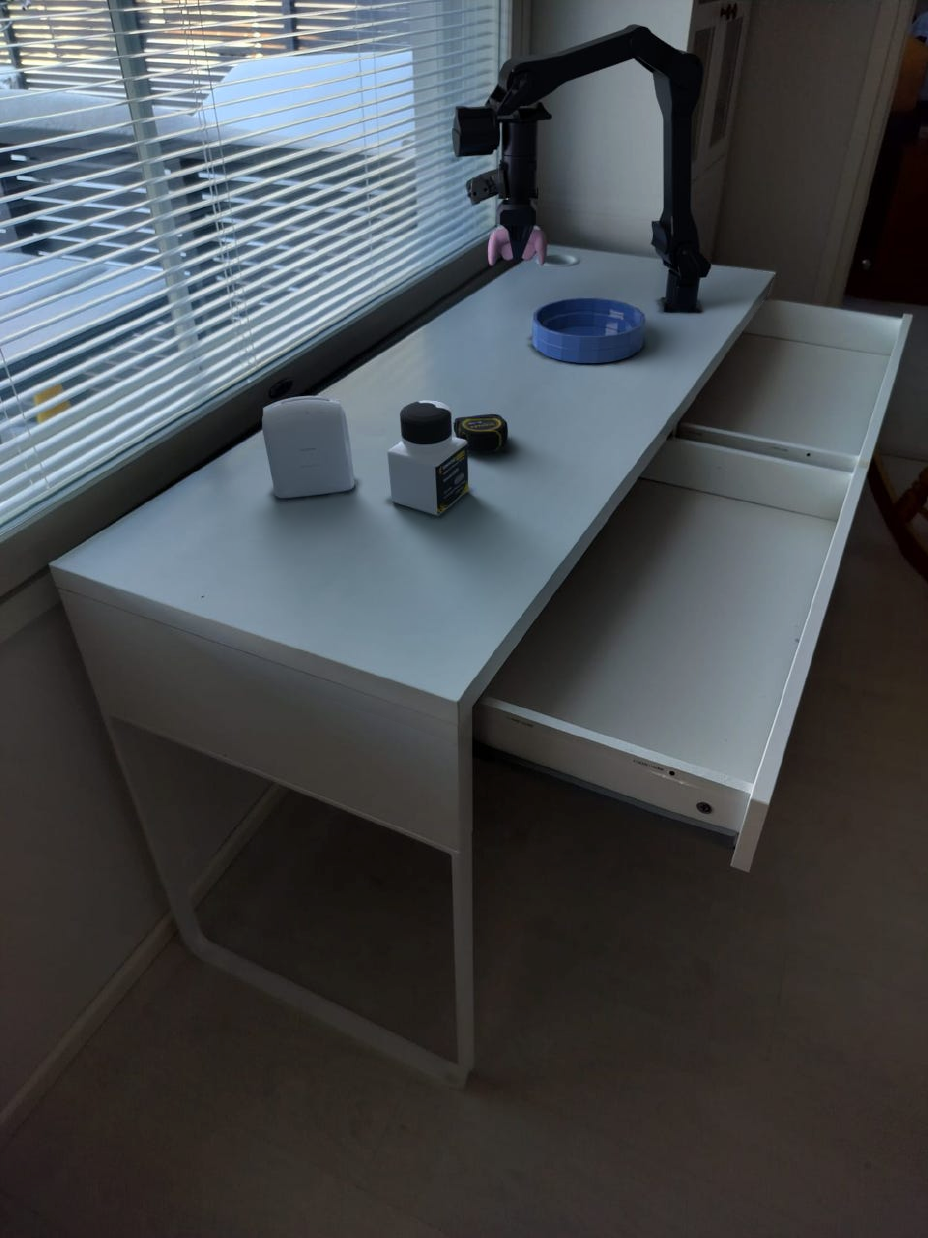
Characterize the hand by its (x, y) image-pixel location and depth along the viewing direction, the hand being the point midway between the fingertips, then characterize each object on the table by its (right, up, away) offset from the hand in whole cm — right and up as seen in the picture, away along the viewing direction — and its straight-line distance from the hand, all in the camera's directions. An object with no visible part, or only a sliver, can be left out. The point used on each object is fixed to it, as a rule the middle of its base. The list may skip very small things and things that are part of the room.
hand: (517, 255), depth 149 cm
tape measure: (-7, -38, -28) cm, 47 cm away
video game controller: (0, -1, +1) cm, 1 cm away
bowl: (+12, -15, -1) cm, 19 cm away
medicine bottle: (-13, -46, -38) cm, 61 cm away
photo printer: (-28, -45, -36) cm, 64 cm away
